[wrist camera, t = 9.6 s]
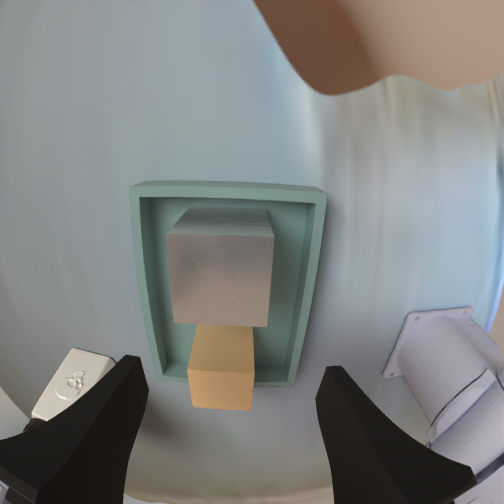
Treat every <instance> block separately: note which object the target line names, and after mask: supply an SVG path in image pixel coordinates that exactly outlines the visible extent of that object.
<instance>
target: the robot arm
mask: <svg viewBox="0 0 504 504" xmlns="http://www.w3.org/2000/svg"><path fill="white" fill-rule="evenodd" d="M472 312H473V308H472V307H463V308H454V309H445V310H435V311H424V312H413V313H410V314H409V315H408V316H407V318H406V321H405V323H404V326H403V329H402V331H401V334H400V336H399V338H398V341H397V343H396V346H395V348H394V350H393V353H392V355H391V357H390V359H389V361H388V364H387V366H386V368H385V370H384V372H383V374H382V375H383V378H391V377H397V376H402V375H403V376H404V378H405V379H406V381H407V383H408V385H409V386H410V388H411V390H412V392H413V394H414V395H415V397H416V399H417V401H418V403H419V405H420V406H421V408H422V410H423V412H424V414H425V416H426V418H427V420H428V422H429V424H430V426H431V428H430V429H429V430H428V431H427V432H426V435H427V437H428V439H429V441H428V442H427V444H426V446H424V445H423V444H421V443H419V442H418V441H416V440H415V439H413V438H412V437H411V436H409V435H408V434H407V433H405V432H404V431H403V430H402V429H400V428H399V427H398V426H397V425H395V424H394V423H393V422H392V421H391V420H390V419H389V418H388V417H387V416H386V415H385V414H384V413H382V411H381V410H380V409H379V408H378V407H377V406H376V405H375V404H374V403H373V402H372V401H371V400H370V399H369V398H368V397H367V396H366V394H365V393H364V392H363V391H362V390H361V389H360V387H359V386H358V385H357V384H356V383H355V382H354V380H353V379H352V378H351V377H350V376H349V374H348V373H347V372H346V371H345V370H344V368H343V367H342V366H329V367H326V370H325V373H324V376H323V379H322V382H321V385H320V387H319V390H318V393H317V396H316V398H315V399H316V407H317V415H318V421H319V425H320V429H321V433H322V437H323V440H324V444H325V448H326V452H327V456H328V459H329V463H330V468H331V474H332V483H333V492H334V504H455V503H456V504H481V503H491V504H504V356H503V353H502V350H501V349H500V347H499V346H498V345H497V344H496V342H495V341H494V340H493V339H492V338H491V337H490V336H489V335H488V334H487V333H486V332H485V331H484V330H483V329H482V328H481V327H480V326H479V325H478V324H477V323H476V322H475V321H474V320H473V319H472V318H471V314H472ZM148 393H149V388H148V385H147V381H146V378H145V374H144V371H143V367H142V363H141V359H140V357H137V356H131V355H125V356H124V357H123V358H122V359H121V360H120V361H119V362H118V363H117V364H116V365H115V366H114V367H113V368H112V369H110V370H109V371H108V372H107V373H106V374H105V375H104V376H103V377H102V378H101V379H100V380H99V381H98V382H97V383H96V384H95V385H94V386H93V387H92V388H90V389H89V390H88V391H87V392H86V393H85V394H84V395H82V396H81V397H80V398H79V399H78V400H76V401H75V402H74V403H73V404H71V405H70V406H69V407H67V408H66V409H65V410H63V411H62V412H60V413H59V414H57V415H56V416H54V417H53V418H51V419H49V420H48V421H46V422H44V423H42V424H40V425H39V426H37V427H35V428H33V429H31V430H28V431H26V432H24V433H21V434H19V435H16V436H13V437H10V438H7V439H3V440H0V480H1V481H2V482H3V483H4V484H6V485H7V486H8V487H9V489H8V490H7V489H5V488H4V487H3V486H2V485H1V484H0V504H123V494H124V486H125V478H126V472H127V466H128V461H129V457H130V453H131V450H132V447H133V444H134V441H135V438H136V435H137V432H138V429H139V426H140V424H141V421H142V418H143V415H144V412H145V407H146V403H147V398H148ZM454 501H455V502H454Z"/></svg>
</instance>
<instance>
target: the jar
mask: <svg viewBox="0 0 504 504" xmlns="http://www.w3.org/2000/svg"><path fill="white" fill-rule="evenodd" d="M115 365H116V364H115V362H114V361H113V360H112V359H111V358H110V357H107V356H103V355H99V354H95V353H91V352H87V351H84V350H80V349H76V348H72V349H71V351H70V352H69V354H68V355H67V357H66V358H65V360H64V361H63V363H62V364H61V366H60V367H59V369H58V370H57V372H56V373H55V375H54V376H53V378H52V379H51V381H50V382H49V384H48V386H47V387H46V389H45V391H44V392H43V394H42V395H41V397H40V399H39V400H38V402H37V404H36V406H35V407H34V409H33V411H32V419H30V421H29V423H28V424H27V425H26V426H25V428H24V430H23V433H24V432H26V431H28V430H31V429H33V428H35V427H37V426H39V425H40V424H42V423H44V422H46V421H48V420H49V419H51V418H53V417H54V416H56V415H57V414H59V413H60V412H62V411H63V410H65V409H66V408H67V407H69V406H70V405H71V404H73V403H74V402H75V401H76V400H78V399H79V398H80V397H81V396H82V395H84V394H85V393H86V392H87V391H88V390H89V389H90V388H92V387H93V386H94V385H95V384H96V383H97V382H98V381H99V380H100V379H101V378H102V377H103V376H104V375H105V374H106V373H107V372H108V371H109V370H110V369H112V368H113V367H114V366H115Z"/></svg>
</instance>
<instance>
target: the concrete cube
mask: <svg viewBox="0 0 504 504" xmlns="http://www.w3.org/2000/svg"><path fill="white" fill-rule="evenodd" d="M166 246H167V260H168V272H169V283H170V292H171V301H172V310H173V318H174V323H186V324H201V325H220V326H248V327H267V321H268V310H269V299H270V287H271V275H272V263H273V250H274V234H273V231H272V228H271V225H270V221H269V218H268V215H267V212H266V209H259V208H230V207H190V208H189V209H188V210H187V211H186V212H185V213H184V214H183V215H182V216H181V217H180V218H179V219H178V221H177V222H176V223H175V224H174V225H173V226H172V227H171V228H170V229H169V231H168V232H167V233H166Z"/></svg>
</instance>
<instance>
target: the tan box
mask: <svg viewBox="0 0 504 504" xmlns="http://www.w3.org/2000/svg"><path fill="white" fill-rule="evenodd" d="M187 372H188V379H189V386H190V392H191V398H192V404H193V407H200V408H213V409H230V410H251V406H252V395H253V385H254V374H255V371H254V347H253V327H248V326H220V325H201V324H198V325H197V329H196V333H195V337H194V341H193V345H192V350H191V354H190V358H189V363H188V367H187Z"/></svg>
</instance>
